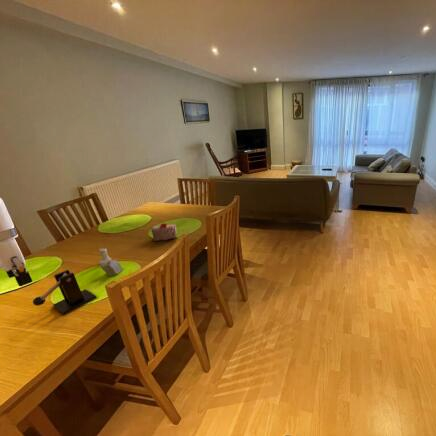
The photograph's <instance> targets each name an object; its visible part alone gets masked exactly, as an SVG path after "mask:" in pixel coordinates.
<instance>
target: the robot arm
mask: <svg viewBox="0 0 436 436" xmlns="http://www.w3.org/2000/svg"><path fill="white" fill-rule="evenodd" d="M18 237H19V234H18V231H17V228H16V227H15V224H14V222H13V220H12V217H11V215H10V213H9V211H8V208H7V206H6V204H5V201H4V200H3V199H2V197H0V269H1V270H3V271H4V272H6V275H7V277H8V278H10V279H11V278H14V280H15V281H16V283H17V285H18V286H19V287H24V286H26V285H28V284H30V283H31V284H32V283H33V279H32V277H31V274H30V271H28V269H27V267H26V264H27V262H26V260H25V257H24V255H23V253H22V250H21V249H20V247H19V244H18V242H17V241H16V238H18Z"/></svg>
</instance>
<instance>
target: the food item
mask: <svg viewBox="0 0 436 436" xmlns="http://www.w3.org/2000/svg"><path fill="white" fill-rule="evenodd" d="M151 233H152V238H153V241H154V242H156V241H164V242H165V241H168V240H173V239H174V240H175V238H174V237H177V236H178V232H177V225H176V224H175V223H174V224H168V223H165V222H163V223H161V224H160V225H153V227H152V228H151Z"/></svg>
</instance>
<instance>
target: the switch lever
mask: <svg viewBox="0 0 436 436" xmlns="http://www.w3.org/2000/svg"><path fill="white" fill-rule="evenodd" d="M65 275H68V274H66V273H64V274H63V275H62V276H61V277H63V276H65ZM59 278H60V277H59ZM60 285H61V284H60V281H59V282H56V283H55V284H54V285H53V286H52V287H50V288H49V289H48V290H47V291H46V292H45V293H44V294H42V295H41V296H36V297H34V299H33V300H32V305H34V306H36V307H37V306H41V305H42V306H43V305H44V304H45V302H46V298H47V297H49V296H50V295H51V294H52V293H53V292H54V291H56V290H57V289H58V288H59V286H60Z"/></svg>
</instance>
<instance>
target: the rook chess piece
mask: <svg viewBox="0 0 436 436" xmlns="http://www.w3.org/2000/svg"><path fill="white" fill-rule="evenodd" d="M98 253H100V255H101V260H100V261H104V260H112V258H111V257H110V256H109V255H108V250H107V248H105V247H102V248H99V250H98Z"/></svg>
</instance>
